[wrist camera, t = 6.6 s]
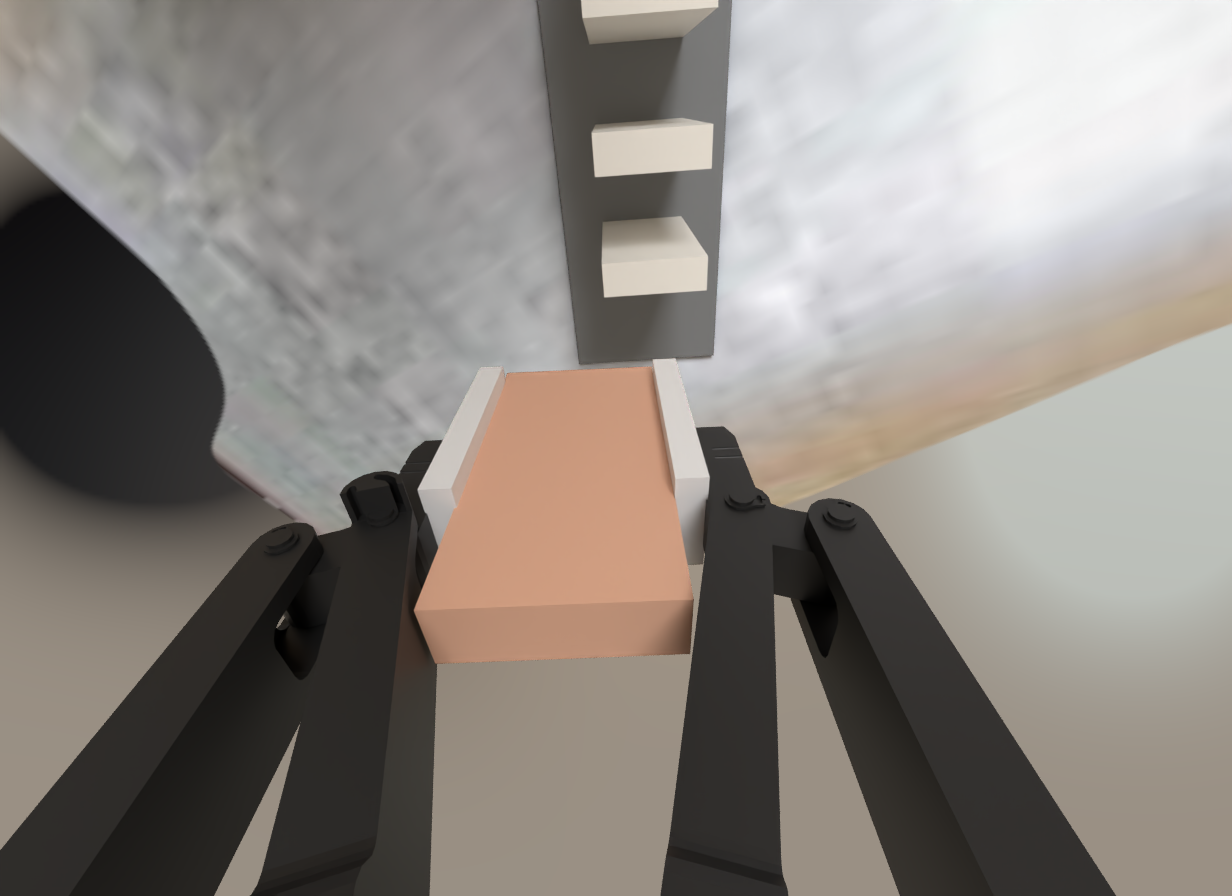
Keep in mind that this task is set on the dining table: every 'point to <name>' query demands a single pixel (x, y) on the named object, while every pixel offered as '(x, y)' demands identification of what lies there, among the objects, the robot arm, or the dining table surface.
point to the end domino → (563, 530)
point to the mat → (627, 92)
